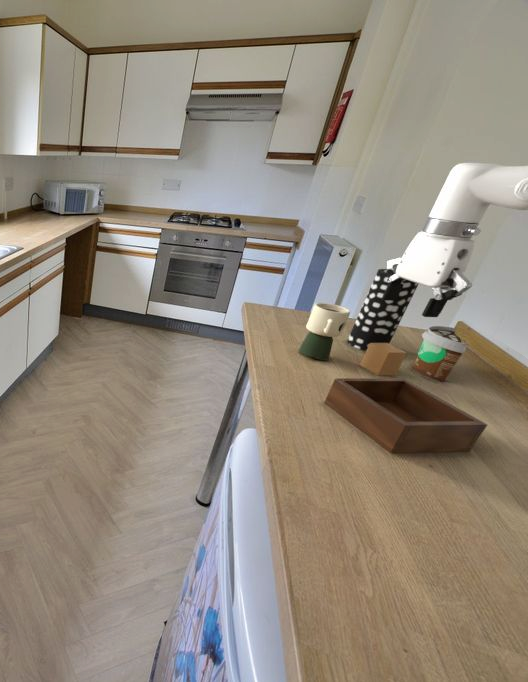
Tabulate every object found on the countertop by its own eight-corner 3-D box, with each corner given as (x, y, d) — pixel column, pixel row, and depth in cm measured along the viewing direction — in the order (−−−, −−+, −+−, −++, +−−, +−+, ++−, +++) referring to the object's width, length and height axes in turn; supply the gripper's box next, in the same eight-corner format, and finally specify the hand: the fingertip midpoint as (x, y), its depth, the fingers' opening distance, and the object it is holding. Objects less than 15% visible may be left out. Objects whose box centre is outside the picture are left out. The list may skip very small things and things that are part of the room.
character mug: (331, 368, 96) (354, 318, 91) (296, 360, 100) (316, 311, 94) (327, 351, 105) (347, 304, 99) (295, 344, 108) (313, 298, 103)
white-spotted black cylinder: (340, 341, 111) (370, 270, 103) (358, 337, 114) (389, 267, 106) (374, 355, 104) (410, 279, 96) (392, 350, 108) (429, 277, 99)
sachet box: (376, 365, 99) (387, 342, 97) (395, 375, 95) (407, 352, 92) (359, 364, 99) (370, 342, 96) (377, 375, 95) (388, 352, 92)
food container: (403, 357, 104) (422, 321, 100) (435, 364, 101) (456, 327, 97) (409, 375, 95) (430, 337, 91) (445, 384, 92) (468, 345, 88)
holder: (391, 402, 84) (404, 378, 82) (469, 451, 71) (487, 424, 68) (323, 402, 83) (334, 378, 80) (390, 453, 69) (405, 425, 67)
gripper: (514, 239, 75) (464, 324, 83) (423, 222, 91) (388, 295, 98) (477, 237, 75) (430, 323, 82) (392, 220, 90) (359, 294, 98)
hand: (407, 307), depth 90 cm, fingers open, 9 cm apart
